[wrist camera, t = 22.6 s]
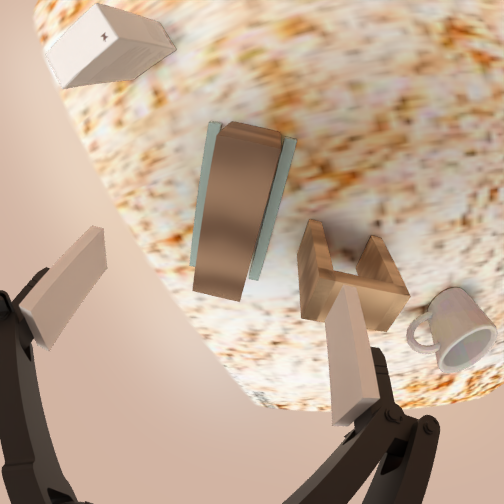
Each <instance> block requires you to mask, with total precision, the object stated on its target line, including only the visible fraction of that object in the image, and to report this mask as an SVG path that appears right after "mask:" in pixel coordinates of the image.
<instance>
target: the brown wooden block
mask: <svg viewBox="0 0 504 504" xmlns="http://www.w3.org/2000/svg"><path fill="white" fill-rule="evenodd" d="M280 151H281V139H280V132H278V131H274V130H269V129H265V128H261V127H257V126H252V125H248V124H243V123H238V122H233V121H232V122H230V123H229V124H228V125H227V126H226V127H225V128H224V129H223V130H221V131H220V132H219V133H218V134H217V135H216V141H215V146H214V151H213V157H212V162H211V168H210V174H209V179H208V185H207V191H206V198H205V204H204V210H203V217H202V223H201V230H200V237H199V244H198V251H197V259H196V267H195V275H194V283H193V291H195V292H200V293H204V294H208V295H212V296H216V297H221V298H225V299H229V300H234V301H238V302H240V299H241V295H242V291H243V288H244V284H245V280H246V277H247V273H248V269H249V266H250V262H251V258H252V255H253V251H254V247H255V243H256V240H257V236H258V232H259V229H260V225H261V221H262V218H263V214H264V210H265V206H266V203H267V199H268V195H269V192H270V188H271V184H272V180H273V177H274V173H275V169H276V166H277V162H278V158H279V154H280Z"/></svg>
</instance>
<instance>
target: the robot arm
mask: <svg viewBox="0 0 504 504" xmlns="http://www.w3.org/2000/svg"><path fill="white" fill-rule="evenodd" d="M106 269H107V261H106V253H105V241H104V229H103V228H100V227H96V226H92V227H90V228H89V229H88V230H87V231H86V232H85V233H84V234H83V235H82V236H81V237H80V238H79V239H78V240H77V241H76V242H75V243H74V244H73V245H72V246H71V247H70V248H69V249H68V250H67V251H66V252H65V254H63V255H62V257H61V258H60V259H59V260H58V261H57V262H56V263H55V264H54V265H53V266H52V267H51V268H47V267H46V268H44V269H42V270H41V271H39V272H38V273H37V274H36V275H35V276H34V277H33V278H32V280H30V281H29V283H28V284H27V285H26V286H25V287H24V288H23V289H22V291H21V292H20V293H19V294H18V295H17V296H16V298H15V299H14V300H13V301H12V302H11V300H10V298H9V295H8V294H7V292H5V291H3V290H0V440H1V445H2V449H3V454H4V458H5V465H4V466H3V467H2V476H3V480H4V483H5V486H6V489H7V493H8V496H9V498H10V501H11V504H93V503H89V502H86V501H85V503H84V502H78V501H77V498H76V496H75V494H74V492H73V490H72V487H71V486H70V484H69V483H68V481H67V480H66V479H65V477H64V475H63V473H62V471H61V468H60V465H59V463H58V460H57V457H56V454H55V451H54V447H53V444H52V441H51V438H50V434H49V431H48V427H47V423H46V419H45V415H44V411H43V407H42V402H41V398H40V392H39V388H38V382H37V376H36V370H35V363H34V355H33V347H32V344H31V342H32V340H33V339H35V341H36V343H37V345H38V346H40V347H42V348H44V349H46V350H48V351H50V350H51V348H52V346H53V345H54V343H55V342H56V340H57V338H58V337H59V335H60V334H61V332H62V331H63V329H64V328H65V326H66V325H67V323H68V322H69V320H70V319H71V317H72V316H73V314H74V313H75V312H76V310H77V309H78V307H79V306H80V304H81V303H82V302H83V300H84V299H85V297H86V296H87V294H88V293H89V292H90V290H91V289H92V288H93V286H94V285H95V284H96V282H97V281H98V279H99V278H100V277H101V276H102V274H103V273H104V272H105V270H106ZM325 327H326V338H327V349H328V361H329V374H330V388H331V406H332V426H349V425H350V424H351V423H352V422H354V426H355V428H354V429H353V430H352V431H351V432H349V433H348V434H347V435H345V436H344V437H345V440H344V441H343V442H342V443H341V444H340V446H339V447H338V448H337V449H336V450H335V451H334V452H333V453H332V454H331V456H330V457H329V458H328V459H327V460H326V461H325V462H324V463H323V464H322V465H321V466H320V467H319V469H318V470H317V471H316V472H315V473H314V474H313V475H312V476H311V477H310V478H309V479H308V480H307V481H306V482H305V483H304V484H303V485H302V486H301V487H300V488H299V489H297V490H296V491H295V492H294V493H293V494H292V495H291V496H290V497H289V498H288V499H287V500H286V501H284V502H283V503H282V504H347V503H348V502H349V501H350V499H351V498H352V497H353V496H354V495H355V493H356V492H357V491H358V490H359V488H360V487H361V486H362V484H363V483H364V482H365V481H366V479H367V478H368V477H369V475H370V473H371V472H372V471H373V470H374V468H375V467H376V465H377V464H378V463H379V461H380V463H379V465H378V468H377V470H376V473H375V475H374V478H373V480H372V482H371V485H370V487H369V489H368V492H367V494H366V496H365V498H364V500H363V502H362V504H422V501H423V498H424V495H425V492H426V488H427V485H428V481H429V478H430V474H431V470H432V467H433V462H434V458H435V454H436V449H437V445H438V439H439V434H440V426H439V423H438V421H437V420H436V418H434V417H433V416H430V415H425V416H423V417H422V418H420V419H416V418H413V417H410V416H407V415H405V414H404V412H403V410H402V408H401V407H400V406H399V405H397V404H395V402H394V398H393V392H392V387H391V382H390V378H389V375H388V374H389V373H388V368H387V364H386V360H385V356H384V355H383V353H382V351H381V350H380V348H375V347H370V343H369V338H368V334H367V329H366V325H365V321H364V317H363V312H362V308H361V304H360V300H359V296H358V292H357V289H356V287H351V286H347V285H343V286H342V288H341V290H340V292H339V294H338V296H337V298H336V300H335V302H334V304H333V306H332V308H331V310H330V311H329V313H328V315H327V317H326V319H325Z"/></svg>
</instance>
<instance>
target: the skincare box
mask: <svg viewBox="0 0 504 504" xmlns="http://www.w3.org/2000/svg"><path fill="white" fill-rule="evenodd" d="M175 50H176V48H175V46H174V45H173V43H172V42H171V40H170V38H169V37H168V35H167V34H166V32H165V31H164V29H163V27H162V26H161V24H160V23H159V22H156V21H154V20H151V19H148V18H145V17H142V16H139V15H136V14H133V13H130V12H127V11H124V10H120V9H117V8H114V7H110V6H106V5H103V4H99V3H96V4H94V5H93V6H92V7H91V8H90V9H89V10H88V11H86V12H85V13H84V14H83V15H82V16H81V17H80V18H79V19H78V20H77V21H76V22H75V23H74V24H73V25H72V26H71V27H70V28H69V29H68V30H67V31H66V32H65V33H64V34H63V35H62V36H61V37H60V39H59V40H58V41H57V42H56V43H55V44H54V45H53V46H52V47H51V49H50V50H49V51H48V52H47V53H46V54H45V55H46V57H47V59H48V61H49V63H50V65H51V67H52V69H53V71H54V73H55V75H56V77H57V79H58V81H59V83H60V85H61V88H62V89H67V88H72V87H78V86H84V85H91V84H98V83H106V82H115V81H126V80H134V79H135V78H136V77H138V76H139V75H140V74H142V73H143V72H145V71H146V70H147V69H149V68H150V67H152V66H153V65H154V64H156V63H157V62H159V61H160V60H162V59H163V58H165V57H166V56H168V55H169V54H171V53H172V52H174V51H175Z"/></svg>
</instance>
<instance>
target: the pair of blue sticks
mask: <svg viewBox="0 0 504 504" xmlns="http://www.w3.org/2000/svg"><path fill="white" fill-rule="evenodd" d="M221 127H222V123H220V122H214V121H210V122H209V125H208V131H207V137H206V143H205V149H204V155H203V162H202V168H201V175H200V182H199V189H198V197H197V204H196V212H195V220H194V229H193V238H192V247H191V257H190V266H194V267H196V259H197V251H198V244H199V237H200V230H201V223H202V217H203V210H204V204H205V198H206V191H207V185H208V179H209V174H210V168H211V162H212V157H213V151H214V146H215V141H216V135H217V134H218V133H219V132H220V131H221ZM296 143H297V139H294V138H290V137H286V136H285V138H284V142H283V146H282V150H281V154H280V158H279V162H278V166H277V170H276V173H275V177H274V181H273V185H272V189H271V193H270V197H269V201H268V205H267V208H266V212H265V216H264V220H263V224H262V228H261V232H260V236H259V240H258V243H257V247H256V251H255V255H254V259H253V263H252V267H251V270H250V274H249V279H252V280H257V281H258V279H259V276H260V272H261V269H262V265H263V262H264V258H265V255H266V251H267V248H268V244H269V241H270V237H271V234H272V230H273V227H274V223H275V219H276V216H277V212H278V209H279V205H280V201H281V198H282V194H283V191H284V187H285V183H286V180H287V176H288V172H289V169H290V165H291V161H292V158H293V154H294V150H295V146H296Z"/></svg>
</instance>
